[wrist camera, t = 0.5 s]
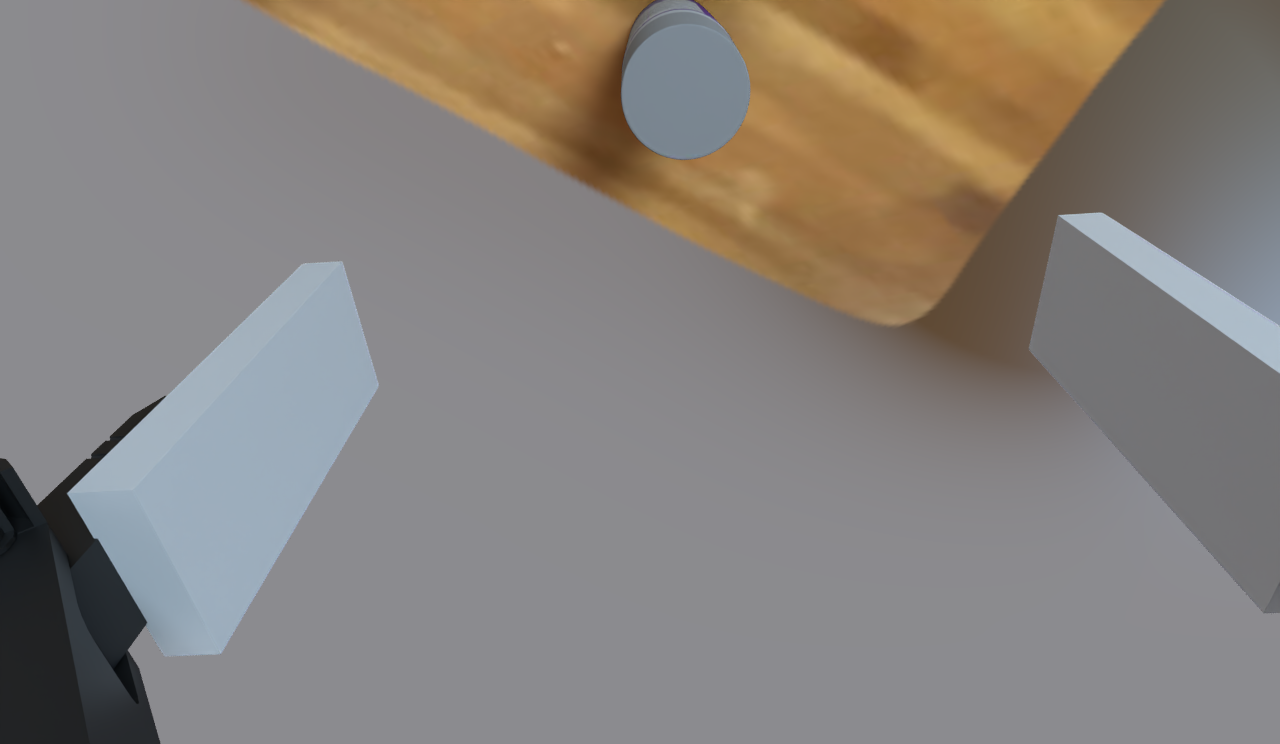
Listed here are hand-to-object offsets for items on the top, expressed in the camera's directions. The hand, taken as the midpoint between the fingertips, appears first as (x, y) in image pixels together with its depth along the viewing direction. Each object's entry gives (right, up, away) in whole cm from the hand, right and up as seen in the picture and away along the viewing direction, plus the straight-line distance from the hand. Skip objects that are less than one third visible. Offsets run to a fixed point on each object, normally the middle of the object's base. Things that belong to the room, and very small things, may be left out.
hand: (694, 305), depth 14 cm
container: (+1, +16, +25) cm, 29 cm away
